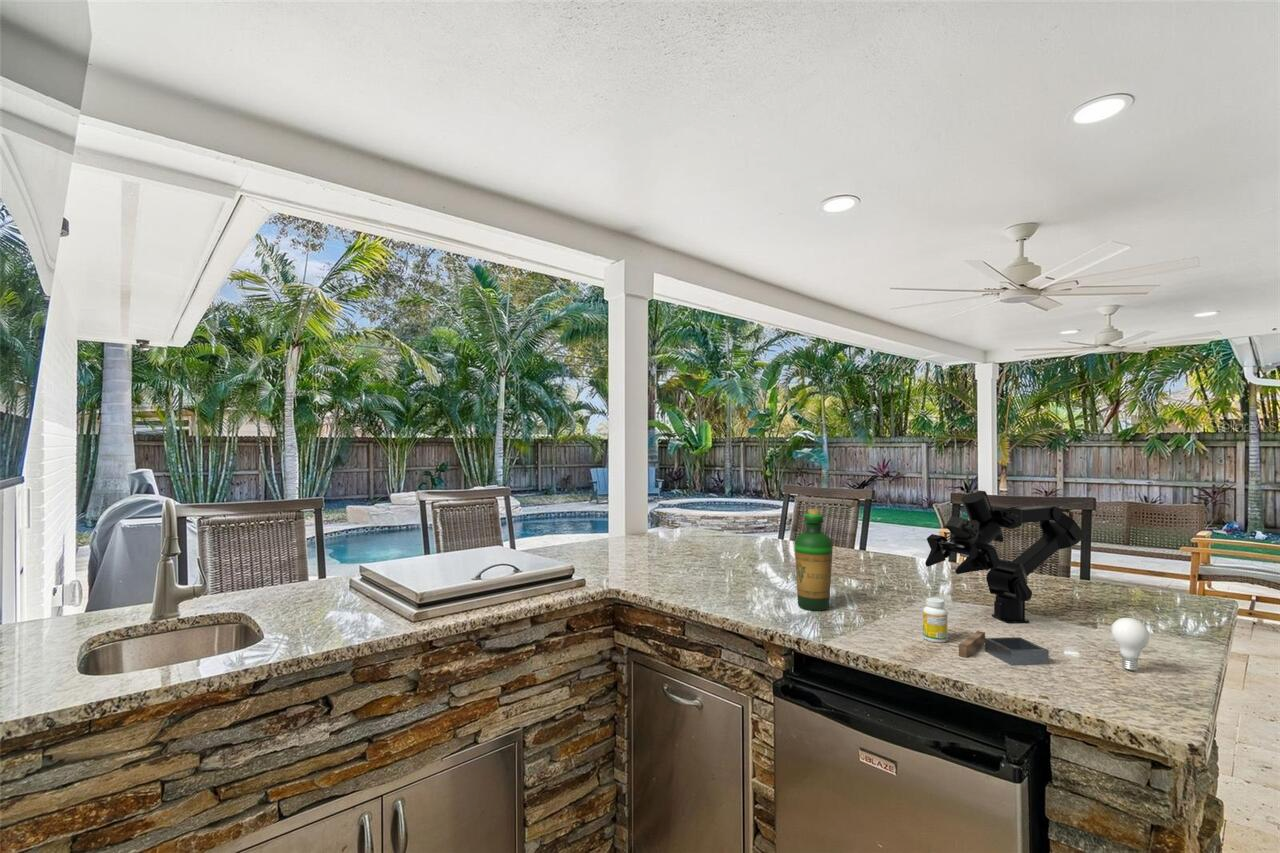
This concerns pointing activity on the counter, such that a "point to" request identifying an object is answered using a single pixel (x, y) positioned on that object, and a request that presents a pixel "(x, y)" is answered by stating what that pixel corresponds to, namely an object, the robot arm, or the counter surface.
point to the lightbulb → (1130, 640)
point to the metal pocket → (1016, 651)
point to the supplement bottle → (935, 620)
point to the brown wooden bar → (971, 644)
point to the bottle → (813, 564)
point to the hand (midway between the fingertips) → (940, 568)
